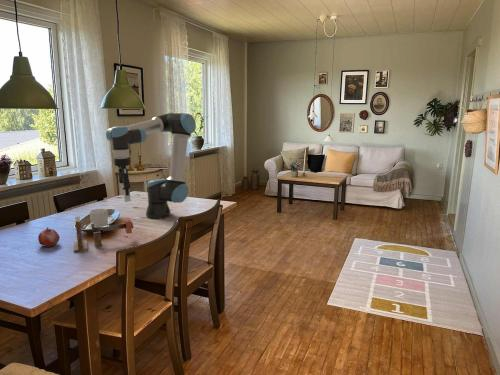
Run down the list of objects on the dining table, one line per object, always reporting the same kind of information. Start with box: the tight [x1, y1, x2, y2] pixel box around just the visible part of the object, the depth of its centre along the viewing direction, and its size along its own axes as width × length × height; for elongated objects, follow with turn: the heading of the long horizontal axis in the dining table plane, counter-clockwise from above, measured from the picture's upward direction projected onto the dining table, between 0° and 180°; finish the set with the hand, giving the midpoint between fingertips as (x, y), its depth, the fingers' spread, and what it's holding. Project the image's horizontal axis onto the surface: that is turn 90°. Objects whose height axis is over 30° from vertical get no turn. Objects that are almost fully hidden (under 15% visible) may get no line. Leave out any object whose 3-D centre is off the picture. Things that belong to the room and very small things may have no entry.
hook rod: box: [90, 217, 134, 234], centre depth 186 cm, size 19×6×7 cm, turn 115°
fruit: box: [37, 226, 60, 248], centre depth 182 cm, size 9×10×10 cm
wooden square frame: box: [73, 216, 89, 253], centre depth 179 cm, size 6×12×14 cm, turn 25°
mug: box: [89, 208, 109, 229], centre depth 206 cm, size 12×9×11 cm
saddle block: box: [93, 232, 102, 248], centre depth 184 cm, size 3×5×6 cm, turn 25°
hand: (125, 198), depth 190 cm, fingers open, 13 cm apart
